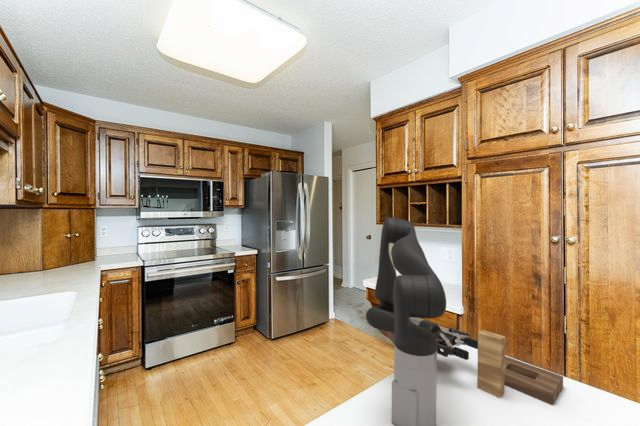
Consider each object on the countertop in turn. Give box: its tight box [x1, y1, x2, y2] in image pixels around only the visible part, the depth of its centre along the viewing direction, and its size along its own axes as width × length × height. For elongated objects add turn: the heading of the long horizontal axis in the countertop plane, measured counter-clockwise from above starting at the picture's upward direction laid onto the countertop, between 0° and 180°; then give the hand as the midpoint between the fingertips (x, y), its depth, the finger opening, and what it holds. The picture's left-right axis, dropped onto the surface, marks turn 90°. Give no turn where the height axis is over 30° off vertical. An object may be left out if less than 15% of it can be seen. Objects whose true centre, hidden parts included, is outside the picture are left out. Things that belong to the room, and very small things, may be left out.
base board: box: [504, 355, 564, 406], centre depth 81 cm, size 11×16×3 cm
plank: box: [476, 329, 506, 399], centre depth 77 cm, size 3×6×15 cm, turn 40°
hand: (475, 350), depth 80 cm, fingers open, 8 cm apart
